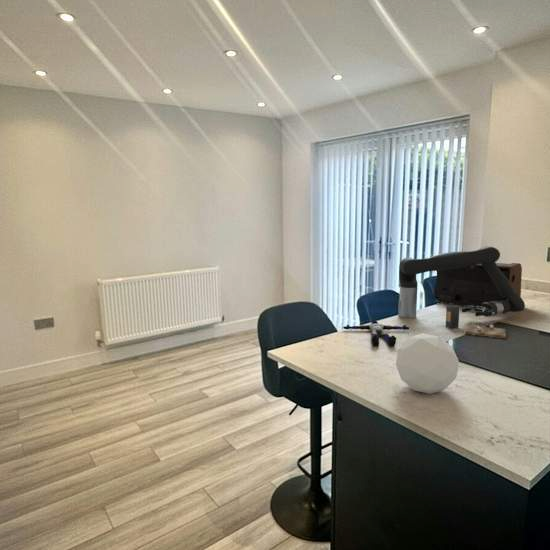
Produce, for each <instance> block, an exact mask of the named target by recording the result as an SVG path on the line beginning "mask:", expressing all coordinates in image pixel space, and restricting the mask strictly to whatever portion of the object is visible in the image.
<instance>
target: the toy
mask: <svg viewBox="0 0 550 550" xmlns="http://www.w3.org/2000/svg"><path fill="white" fill-rule="evenodd" d="M342 328H343V330H361V331H362V330H363V331H364V330H367V331H370V332H371V334H370V335H371V339H370V341H371V343H372V345H373V347H374V348H378V347H380V338H379V337H381V338H382V340H385V341H386V344H387V345H388V347H389V348H394V347H395V346H396V343H397V337H396V336H394V335H391V336H390V335H389V334H388V333H387V332H386V330H387V331H390V330H403V331H407V330H409V329H410V326H407V324H404V325H402V326H398V325H393V326H392V325H384V324H383V323H379V322H378V321H377V320H376V319H374V320H372V321H371V322H370V323H369V324H367V325H366V324H365V325H353V326H350V325H349V324H346V325H345V326H343V327H342Z"/></svg>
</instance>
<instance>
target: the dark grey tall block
mask: <svg viewBox="0 0 550 550" xmlns="http://www.w3.org/2000/svg"><path fill="white" fill-rule="evenodd" d="M460 308H461V305H455V304H450V305H446V311H445V312H446V314H445V315H446V316H445V328H447V329H449V330H450V329H451V330H452V329H458V328H459V324H460Z"/></svg>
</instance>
